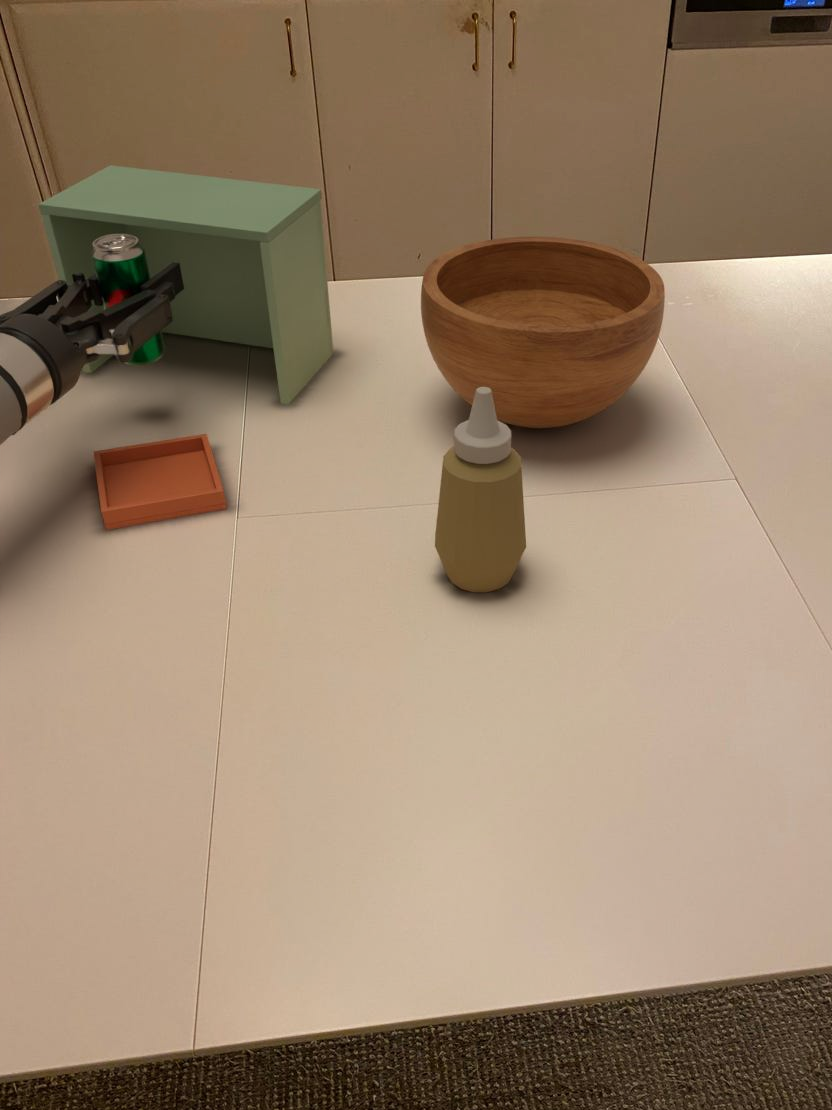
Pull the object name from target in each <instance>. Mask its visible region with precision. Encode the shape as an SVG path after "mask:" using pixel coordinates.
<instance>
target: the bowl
mask: <svg viewBox="0 0 832 1110" xmlns="http://www.w3.org/2000/svg"><path fill="white" fill-rule="evenodd" d="M665 293H666V291H665V284H664V280H663V278H662V277H661V275H660V274H659V273H658V272H657V270H656V269H655V268H653V266H651V265H650V264H648V263H647V262H646V261H644V260H642V259H641V258H639V257H637V256H634V255H633V254H630V253H629V252H626V251H623V250H621V249H618V248H614V247H611V246H608V245H604V244H601V243H597V242H591V241H586V240H582V239H581V240H580V239H573V238H565V237H553V236H512V237H500V238H494V239H487V240H482V241H476V242H472V243H470V244H465V245H462V246H458V247H456V248H454V249H451V250H449V251H447V252H445V253H443V254H441V255H440V256H438V257H437V258H435V259H434V260H433V261H431V263H430V264H428V266H427V267H426V269H425V270H424V273H423V275H422V280H421V290H420V315H421V322H422V323H421V324H422V328H423V333H424V336H425V337H424V338H425V340H426V344H427V347H428V349H429V352H430V355H431V357H432V359H433V361H434V363H435V365H436V367H437V369H438V370H439V371H440V374H441V375H442V376H443V378H444V379H445V381H446V382H447V383H448V385H450V387H451V388H452V389H453V390H454V391H455V392H456V393H457V394H458V395H459V396H460V397H461V398H462V399H463V400H464V401H465V402H466V403H468V404H469V405H470V406H472V405H473V401H474V397H475V393H476V389H477V388H479V387H488V388H490V389H491V392H492V397H493V401H494V406H495V411H496V416H497V421H500V422H502V423H504V424H509V425H513V426H516V427H522V428H530V429H551V428H558V427H565V426H569V425H572V424H576V423H579V422H582V421H584V420H586V419H589V418H591V417H593V416H595V415H597V414H599V413H600V412H602V411H603V410H605V409H606V408H608V407H610V406H611V405H613V404H614V403H615V402H616V401H617V400H619V399H621V397H622V396H623V395H624V394H626V392H627V391H628V390H629V389H630V388H631V387H632V386H633V385H634V383H636V381H637V380H638V378H639V377H640V376H641V374H642V373H643V371H644V370H645V368H646V366H647V365H648V363H649V361H650V359H651V357H652V355H653V353H654V350H655V348H656V345H657V343H658V340H659V337H660V334H661V330H662V325H663V320H664V315H665V313H664V312H665V303H666V302H665V297H666V296H665V295H666V294H665Z"/></svg>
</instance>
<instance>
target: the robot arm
mask: <svg viewBox="0 0 832 1110" xmlns="http://www.w3.org/2000/svg"><path fill="white" fill-rule="evenodd" d="M72 278H73V281H74V282H73V284H72V285H67V282H66V281H64V280H59V279H58V280H56V281H53V282H52V283H51V284H49V285H48V286H46V287H45V288H44V289H42V290H41V291H39V292H38V293H36V294H34V295H33V296H32V297H30V298H29V299H27V300H26V301H24V302H23V303H21V304H19V305H18V306H16V307H15V308H14V309H12V310H9V311H7V312H5V313H1V314H0V446H1V445H3V443H4V442H6V441H7V440H8V439H9V438H10V437H11V436H14V435H16V434H17V433H18V432H19V431H21V430H22V429H23V428H24V427H25V426H26V425H27V424H28V423H30V422H31V421H32V420H34V419H35V418H36V417H38V416H39V415H40V414H42V413H43V412H44V411H45V410H46V409H48V407H50V406H52V405H54V404H55V403H56V402H57V401H59V400H60V399H62V398H63V397H64V396H65V395H66V394H67V393H69V392H70V391H71V390H73V388H75V386H76V385H77V383H78V382H79V379H80V376H81V374H82V371H83V366H84V365H86V364H88V363H90V362H93V361H96V360H98V359H99V358H100V356H101V354H115V355H114V356H115V357H116V356H117V357H116V359H117V361H118V363H121V364H122V363H123V364H125V362H129V361H130V360H131V359H132V357H133V355H134V352H135V351H136V350H137V349H139V348H140V347H141V346H142V345H144V344H145V343H146V342H147V341H149V340H150V339H151V338H152V337H154V336H155V335H156V334H157V333H159V332H160V331H161V330H162V329H164V328H165V327H166V326H167V325H169V324H170V323H171V322H172V321H173V317H172V312H171V307H170V302H171V301H172V300H174V299H175V296H176V295H177V294H178V293H180V292H181V291H182V290H183V289H184V285H183V279H182V274H181V268H180V263H175V262H173V263H171V264H170V265H168V266H167V267H166V268H164V269H163V270H162V271H160V272H159V273H158V274H156V275H155V276H154V277H152V278H151V279H149V280H148V281H147V282H145V283H144V284H143V285H141V286H140V288H141V293H139V294H136V295H134V296H132V297H130V298H128V299H126V300H124V301H122V302H119V303H117V304H115V305H113V306H111V307H109V308H107V309H104V310H102V311H100V312H98V311H95V310H90V311H88V310H89V309H90V308H91V306H92V303H91V301H92V300H94V304H95V305H96V306H102V305H103V302H102V298H101V294H100V290H99V286H98V282H97V278H96V274H94V275H92V276H91V277H89V278H88V279H85V275H84V273H80V272H79V273H74V274H72Z"/></svg>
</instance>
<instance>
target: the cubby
mask: <svg viewBox="0 0 832 1110" xmlns="http://www.w3.org/2000/svg"><path fill="white" fill-rule="evenodd" d="M322 199H323V191H322V189H320V188H314V187H306V186H297V185H288V184H287V185H286V184H278V183H269V182H261V181H252V180H244V179H235V178H224V177H218V176H207V175H199V174H191V173H190V174H189V173H181V172H173V171H163V170H157V169H156V170H155V169H146V168H138V167H127V166H121V165H119V166H118V165H108V166H107V167H105V168H103V169H101V170H99V171H96V173H94V174H92V175H90V176H88V177H86V178H85V179H83V180H81V181H79V182H77V183H75V184H73V185H71V186H70V187H68V188H65V189H64V190H62V191H60V192H59V193H56V194H55V195H53V196H51V197H48V198H47V199H45V200H43V201H41V202H40V203H38V204H37V206H38V209H39V212H40V217H41V219H42V223H43V227H44V231H45V234H46V238H47V242H48V245H49V249H50V254H51V257H52V261H53V264H54V267H55V268H54V269H55V271H56V275H57V279H58V280H64V281H66V282H67V285H72V284H73V282H74V281H73V278H72V274H74V273H79V272H80V273H84V275H85V279H88V278H89V277H91V276H92V275H94V274H95V270H94V266H93V262H92V257H91V253H92V251H93V248H94V247H93V245H92V244H93V241H94V240H96V239H97V238H99V237H102V236H106V235H111V234H129V235H133V236H135V237H137V238H138V240H139V244H140V245H141V246H142V247H143V248H144V250H145V254H146V259H147V264H148V269H149V274H150V278H152V277H154V276H155V275H156V274H158V273H159V272H160V271H162V270H163V269H164V268H166V267H167V266H168V265H170V264H171V263H173V262H175V263H180V268H181V274H182V279H183V285H184V289H183V290H182V291H181V292H180V293H178V294H177V295H176V296H175V299H174V300H172V301H171V302H170V307H171V312H172V317H173V321H172V322H171V323H170V324H169V325H167V326H166V327H165V328H164V329H162V330H161V331H162V333H166V334H172V335H173V334H174V335H180V336H185V337H186V336H187V337H188V336H189V337H194V338H200V339H207V340H208V339H209V340H213V341H220V342H228V343H234V344H239V345H248V346H255V347H261V348H267V349H272V350H273V355H274V363H275V370H276V379H277V387H278V393H279V394H278V395H279V402H280V404H283V405H288V406H289V405H290V404H291V402H292V401H293V400H294V399H295V398H296V397H297V396H298V395H299V393H300V392H301V391H302V390H303V389H304V388H305V387H306V386H307V384H308V383H309V382H310V381H311V380H312V379H313V378H314V377H315V375H316V374H317V373H318V372H319V371H320V370H321V368H322V367H323V366H324V365H325V364H326V363H327V362H328V361H329V360H330V358H331V357H332V356H333V355H334V354H335V352H334V343H333V342H334V341H333V330H332V329H333V328H332V319H331V317H332V316H331V306H330V295H329V294H330V293H329V284H328V283H329V282H328V272H327V262H326V252H325V251H326V250H325V249H326V248H325V237H324V227H323V215H322V214H323V213H322V203H321V200H322ZM91 303H92V306H91V308H90V309H89V310H88V311H90V310H95V311H98V312H100V311H102V310H104V306H103V305H102V306H96V305H95V304H94V300H92V301H91ZM113 356H115V354H101V356H100V358H99V359H98V360H96V361H93V362H90V363H88V364H86V365H84V366H83V369H82V371H83V373H86V374H92V373H93V372H95V371H96V370H97V369H99V368H100V367H101V366H102V365H104V364H105V363H106V362H107V361H108V360H110V359H111V358H112V357H113Z"/></svg>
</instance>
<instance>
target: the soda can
mask: <svg viewBox="0 0 832 1110" xmlns="http://www.w3.org/2000/svg"><path fill="white" fill-rule="evenodd" d="M92 245H93V247H94V248H93V251H92V253H91V257H92V262H93V266H94V270H95V274H96V278H97V282H98V286H99V290H100V294H101V298H102V302H103V306H104V309H107V308H109V307H111V306H113V305H115V304H117V303H119V302H122V301H124V300H126V299H128V298H130V297H132V296H134V295H136V294H139V293H141V288H140V286H141V285H143V284H144V283H145V282H147V281H148V280H149V279H151V278H150V274H149V269H148V264H147V259H146V254H145V250H144V248H143V247H142V246H141V245H140V244H139V240H138V238H137V237H135V236H133V235H129V234H111V235H106V236H102V237H99V238H97V239H96V240H94V241H93V244H92ZM165 352H166V347H165V342H164V336H163V332H162V331H160V332H159V333H157V334H156V335H155V336H154V337H152V338H151V339H150V340H149V341H147V342H146V343H145V344H144V345H142V346H141V347H140V348H139V349H137V350H136V351H135V352H134V355H133V357H132V359H131V360H130V361H129V362H125V363H124V364H126V365H129V366H137V367H138V366H147V365H150V364H153V363H156V362H158V361H159V360H160V359H162V357H163V355H164V354H165ZM115 357H116V358H117V356H115Z"/></svg>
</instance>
